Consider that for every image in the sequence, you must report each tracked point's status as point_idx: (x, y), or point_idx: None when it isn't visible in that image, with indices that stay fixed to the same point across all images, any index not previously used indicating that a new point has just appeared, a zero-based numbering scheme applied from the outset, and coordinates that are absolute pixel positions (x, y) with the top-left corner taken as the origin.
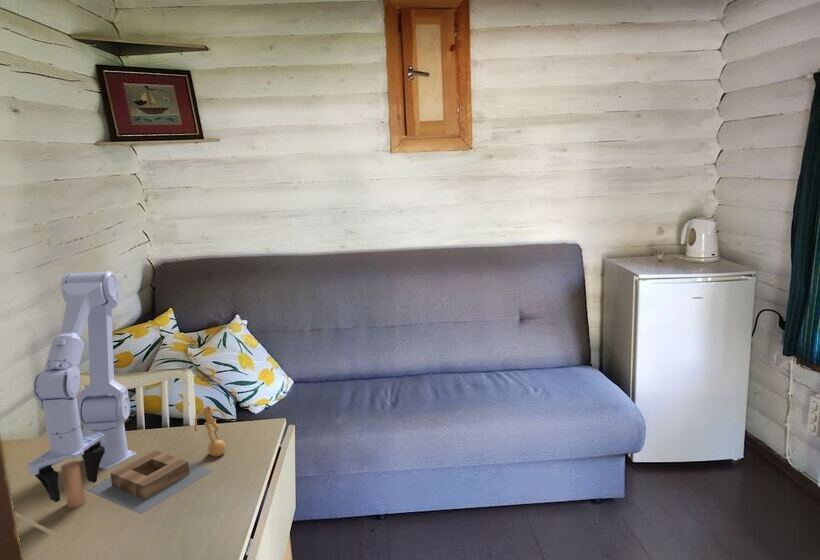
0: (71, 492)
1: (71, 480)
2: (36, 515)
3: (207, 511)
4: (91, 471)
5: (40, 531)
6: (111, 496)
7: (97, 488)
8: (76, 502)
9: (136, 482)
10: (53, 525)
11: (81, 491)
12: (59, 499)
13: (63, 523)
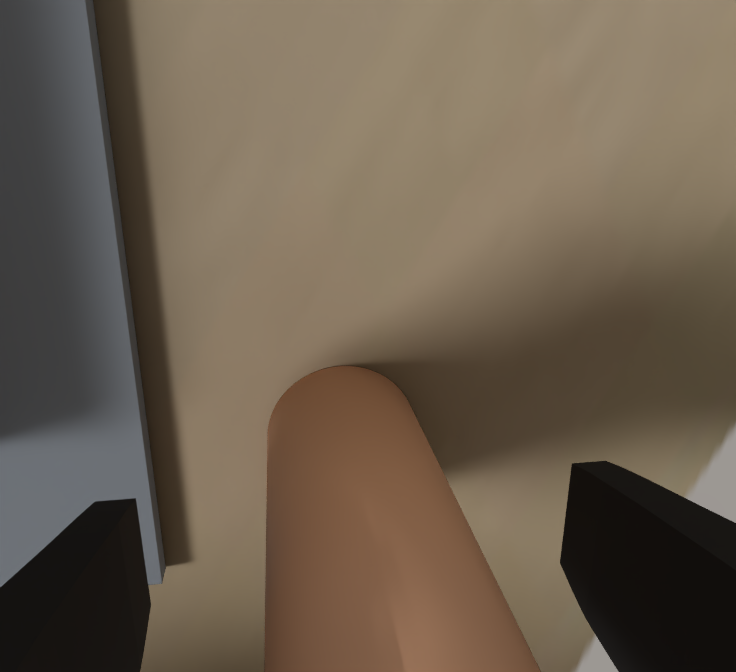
0: (443, 484)
1: (477, 593)
2: None
3: None
4: (85, 647)
5: (711, 325)
6: (66, 254)
7: None
8: (388, 400)
9: None
10: (619, 315)
11: (327, 450)
12: (585, 466)
13: (567, 267)
